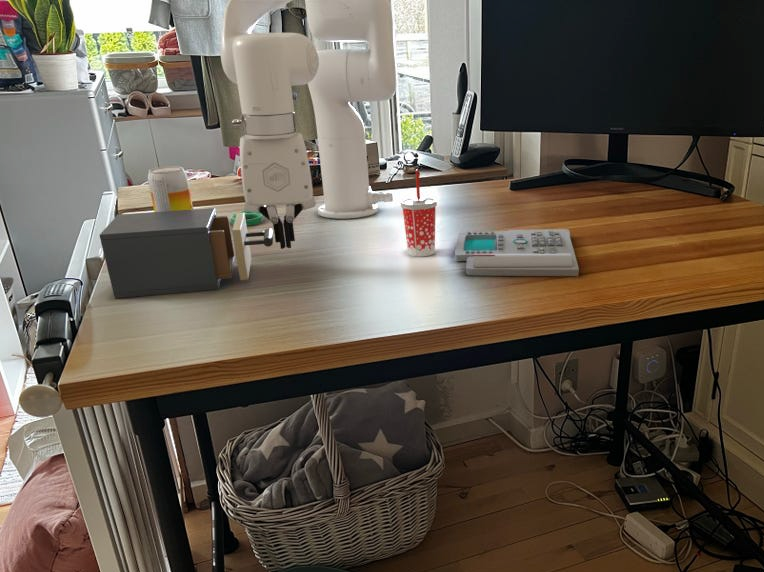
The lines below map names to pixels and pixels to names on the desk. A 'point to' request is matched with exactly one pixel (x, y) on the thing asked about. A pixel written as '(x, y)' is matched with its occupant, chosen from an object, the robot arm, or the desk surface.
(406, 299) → the desk surface
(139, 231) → the cabinet
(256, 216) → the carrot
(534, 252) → the office telephone
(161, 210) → the beer can
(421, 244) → the beverage cup
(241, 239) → the drawer
